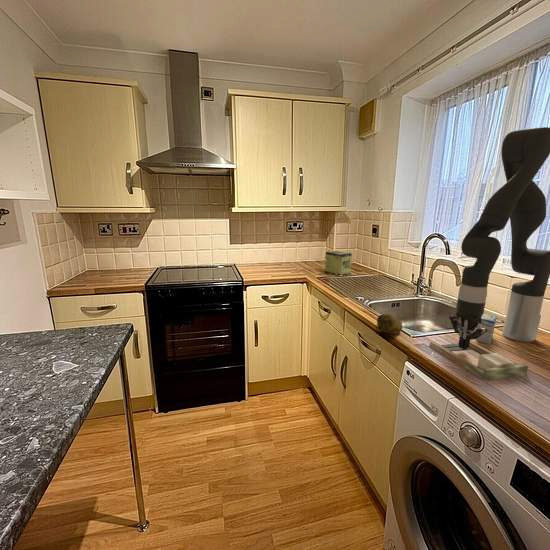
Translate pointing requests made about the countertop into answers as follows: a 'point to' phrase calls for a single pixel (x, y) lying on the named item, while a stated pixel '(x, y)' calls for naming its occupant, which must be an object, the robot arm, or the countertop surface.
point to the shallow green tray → (486, 374)
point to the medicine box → (487, 327)
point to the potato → (389, 324)
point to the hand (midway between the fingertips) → (463, 348)
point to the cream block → (493, 361)
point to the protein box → (338, 262)
